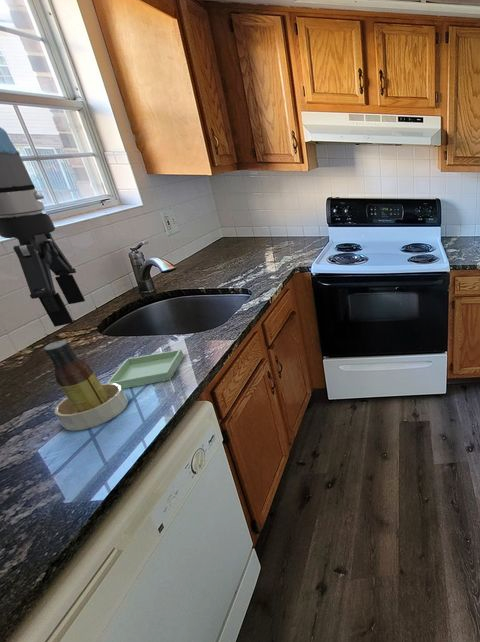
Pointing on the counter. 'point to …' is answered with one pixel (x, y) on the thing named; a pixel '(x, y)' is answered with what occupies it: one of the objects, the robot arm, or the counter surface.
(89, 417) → the bowl
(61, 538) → the counter surface
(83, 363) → the sauce bottle
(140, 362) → the tray
